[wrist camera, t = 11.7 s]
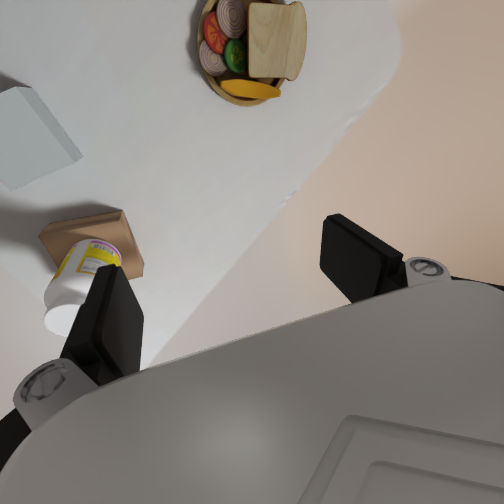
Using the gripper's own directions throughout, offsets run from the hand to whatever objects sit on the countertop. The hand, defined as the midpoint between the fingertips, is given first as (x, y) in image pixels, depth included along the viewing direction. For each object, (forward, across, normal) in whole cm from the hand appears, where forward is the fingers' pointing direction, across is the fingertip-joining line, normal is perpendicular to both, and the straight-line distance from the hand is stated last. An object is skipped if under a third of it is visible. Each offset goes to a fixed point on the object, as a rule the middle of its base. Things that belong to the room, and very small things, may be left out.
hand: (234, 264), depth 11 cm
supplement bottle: (+26, +16, +12) cm, 33 cm away
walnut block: (+30, +16, +12) cm, 36 cm away
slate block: (+30, +18, -4) cm, 35 cm away
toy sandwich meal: (+31, -11, -11) cm, 35 cm away
